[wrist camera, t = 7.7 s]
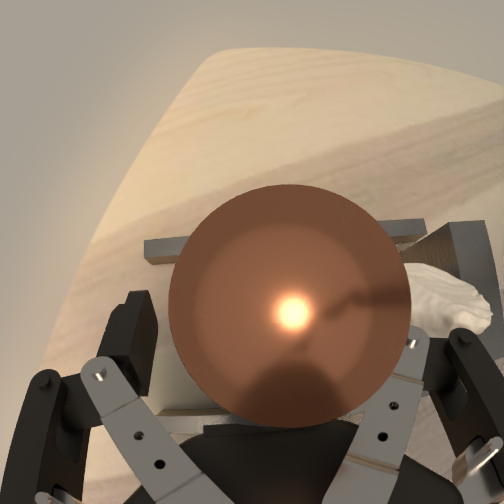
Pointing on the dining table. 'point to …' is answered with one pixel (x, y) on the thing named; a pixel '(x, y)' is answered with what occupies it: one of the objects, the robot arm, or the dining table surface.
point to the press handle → (289, 306)
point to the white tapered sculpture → (444, 302)
